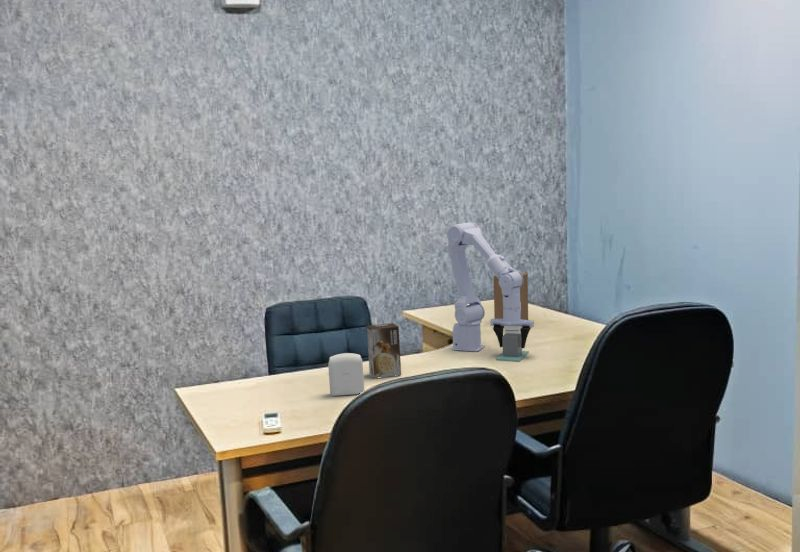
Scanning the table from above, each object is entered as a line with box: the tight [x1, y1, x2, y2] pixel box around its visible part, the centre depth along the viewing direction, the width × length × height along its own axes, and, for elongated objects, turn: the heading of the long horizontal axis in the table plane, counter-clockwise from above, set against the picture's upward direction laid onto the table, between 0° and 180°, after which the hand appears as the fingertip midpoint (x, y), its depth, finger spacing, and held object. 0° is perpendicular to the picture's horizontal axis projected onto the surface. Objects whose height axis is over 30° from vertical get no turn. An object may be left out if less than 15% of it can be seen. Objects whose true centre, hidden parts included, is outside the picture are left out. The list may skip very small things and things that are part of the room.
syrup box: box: [503, 302, 522, 336], centre depth 335 cm, size 6×6×14 cm
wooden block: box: [493, 272, 529, 320], centre depth 362 cm, size 10×10×20 cm
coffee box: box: [366, 322, 402, 379], centre depth 298 cm, size 9×6×16 cm
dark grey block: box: [502, 333, 523, 357], centre depth 316 cm, size 5×5×7 cm
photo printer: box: [327, 352, 365, 397], centre depth 280 cm, size 10×4×12 cm, turn 96°
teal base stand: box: [495, 350, 530, 363], centre depth 316 cm, size 8×12×6 cm, turn 158°
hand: (512, 347), depth 316 cm, fingers open, 7 cm apart
